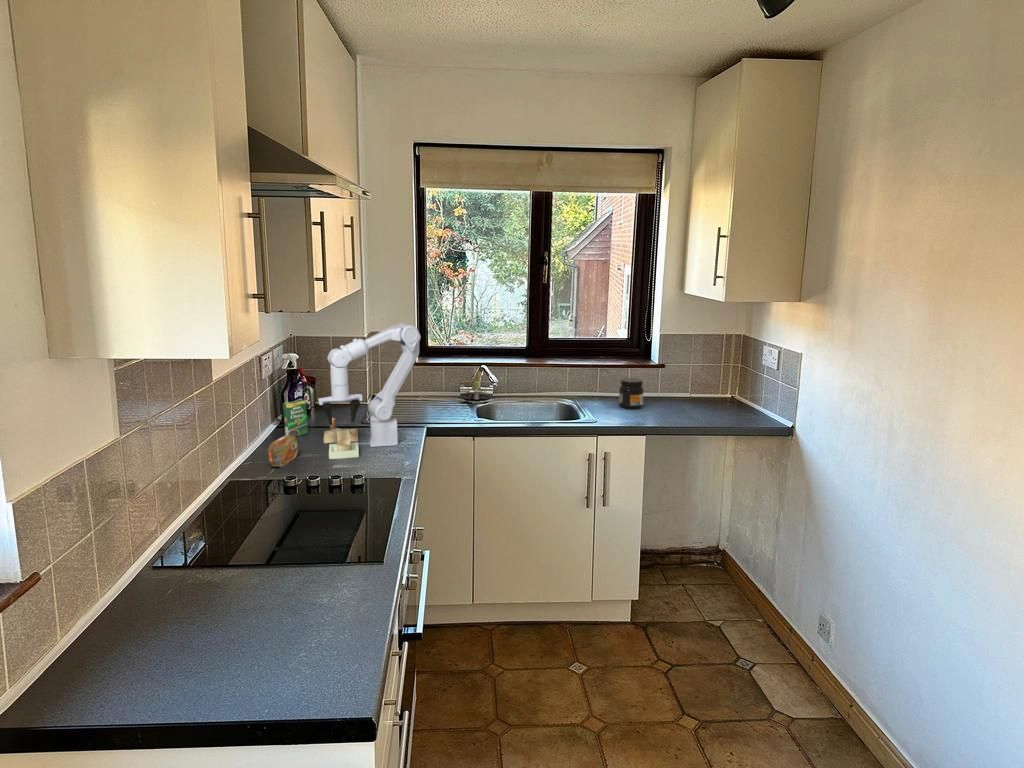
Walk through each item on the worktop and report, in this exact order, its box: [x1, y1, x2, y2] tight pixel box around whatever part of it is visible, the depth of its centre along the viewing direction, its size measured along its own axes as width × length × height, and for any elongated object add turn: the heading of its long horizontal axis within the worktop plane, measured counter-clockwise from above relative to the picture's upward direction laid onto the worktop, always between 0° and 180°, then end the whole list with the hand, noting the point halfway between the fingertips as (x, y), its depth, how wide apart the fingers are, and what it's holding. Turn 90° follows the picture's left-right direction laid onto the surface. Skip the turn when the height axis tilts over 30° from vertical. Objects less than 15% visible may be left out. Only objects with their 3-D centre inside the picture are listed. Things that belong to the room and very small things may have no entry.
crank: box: [329, 417, 352, 434], centre depth 251 cm, size 11×3×5 cm, turn 59°
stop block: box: [336, 430, 351, 451], centre depth 231 cm, size 4×4×7 cm
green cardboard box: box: [282, 398, 309, 438], centre depth 251 cm, size 8×3×13 cm, turn 133°
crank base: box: [323, 428, 359, 444], centre depth 250 cm, size 12×11×2 cm
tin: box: [267, 434, 299, 468], centre depth 221 cm, size 15×3×8 cm, turn 168°
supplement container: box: [618, 377, 645, 410], centre depth 295 cm, size 10×10×12 cm
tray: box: [328, 442, 360, 460], centre depth 231 cm, size 10×10×2 cm
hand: (341, 422), depth 235 cm, fingers open, 7 cm apart
